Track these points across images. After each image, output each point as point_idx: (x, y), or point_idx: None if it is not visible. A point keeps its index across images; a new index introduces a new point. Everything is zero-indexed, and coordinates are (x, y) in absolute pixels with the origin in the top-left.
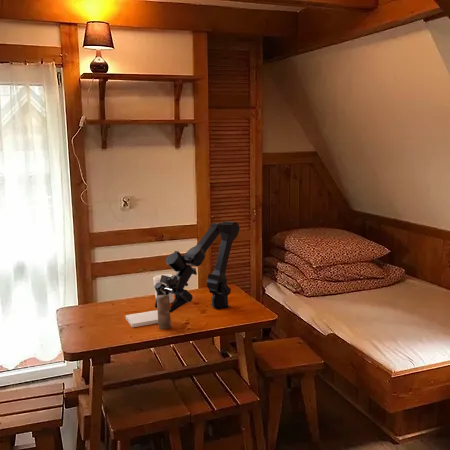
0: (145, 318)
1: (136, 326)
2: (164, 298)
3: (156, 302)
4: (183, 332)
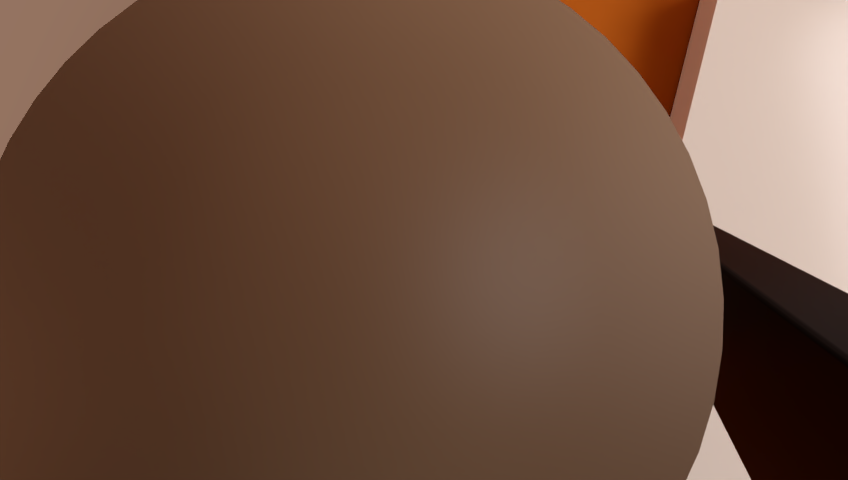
0: (809, 217)
1: (689, 43)
2: (18, 179)
3: (749, 271)
4: None
